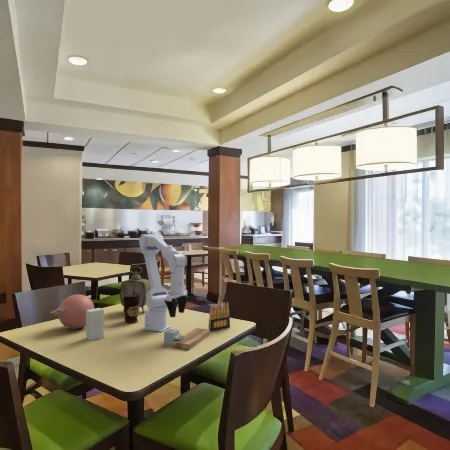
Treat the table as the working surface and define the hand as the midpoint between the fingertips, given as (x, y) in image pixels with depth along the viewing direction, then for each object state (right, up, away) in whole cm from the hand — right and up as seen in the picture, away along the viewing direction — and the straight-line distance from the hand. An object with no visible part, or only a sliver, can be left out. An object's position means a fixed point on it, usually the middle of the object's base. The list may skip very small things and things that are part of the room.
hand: (177, 314), depth 149 cm
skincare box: (-34, -10, -1) cm, 36 cm away
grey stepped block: (0, -10, -7) cm, 12 cm away
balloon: (-49, -10, +11) cm, 51 cm away
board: (+7, -10, -3) cm, 12 cm away
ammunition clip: (+18, -10, +13) cm, 24 cm away
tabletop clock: (-28, -10, +43) cm, 52 cm away
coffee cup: (-25, -10, +24) cm, 36 cm away
